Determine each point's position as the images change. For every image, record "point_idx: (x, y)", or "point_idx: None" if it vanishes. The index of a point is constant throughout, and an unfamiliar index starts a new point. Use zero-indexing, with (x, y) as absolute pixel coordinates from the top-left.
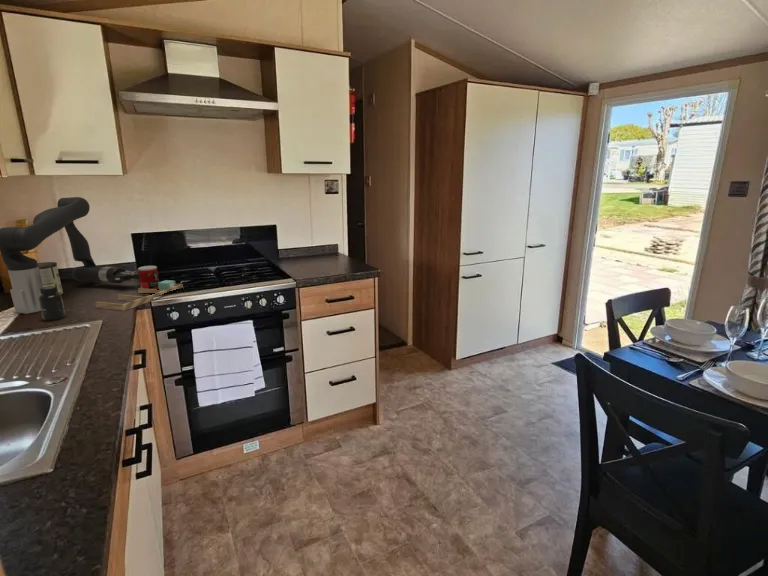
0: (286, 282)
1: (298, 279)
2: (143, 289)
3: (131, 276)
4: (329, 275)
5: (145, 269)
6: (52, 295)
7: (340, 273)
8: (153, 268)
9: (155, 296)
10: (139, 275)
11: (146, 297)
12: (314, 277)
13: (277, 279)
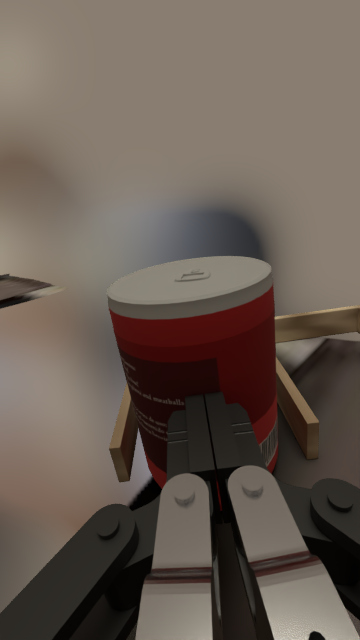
0: (60, 287)
1: (37, 288)
2: (296, 392)
3: (290, 492)
4: (15, 282)
5: (245, 258)
6: None
7: (3, 282)
8: (192, 261)
9: (305, 324)
10: (274, 336)
11: (354, 308)
12: (25, 285)
13: (28, 299)
